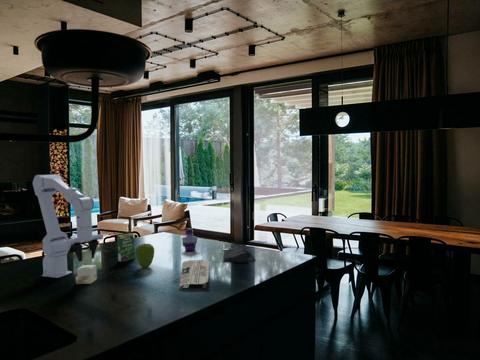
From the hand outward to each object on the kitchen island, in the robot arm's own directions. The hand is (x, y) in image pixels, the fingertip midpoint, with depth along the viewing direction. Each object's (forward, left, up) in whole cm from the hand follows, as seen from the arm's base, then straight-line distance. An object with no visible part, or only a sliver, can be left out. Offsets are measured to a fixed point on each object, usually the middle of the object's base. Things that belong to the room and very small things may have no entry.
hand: (86, 259), depth 149 cm
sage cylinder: (0, 0, -1) cm, 1 cm away
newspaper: (+40, +20, -10) cm, 45 cm away
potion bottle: (+16, +57, -9) cm, 60 cm away
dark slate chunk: (+45, +53, -10) cm, 71 cm away
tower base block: (0, 0, -9) cm, 9 cm away
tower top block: (0, +1, -6) cm, 6 cm away
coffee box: (-5, +31, -9) cm, 33 cm away
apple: (+12, +23, -9) cm, 27 cm away
